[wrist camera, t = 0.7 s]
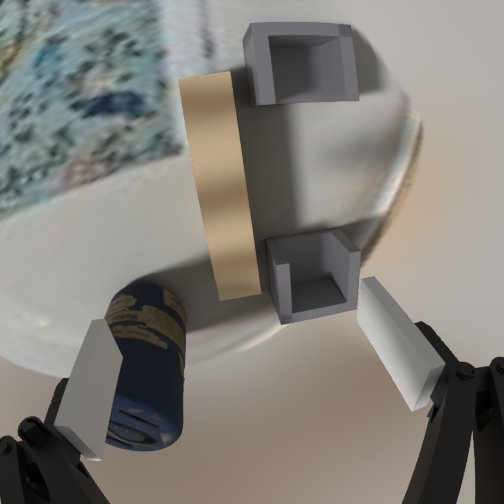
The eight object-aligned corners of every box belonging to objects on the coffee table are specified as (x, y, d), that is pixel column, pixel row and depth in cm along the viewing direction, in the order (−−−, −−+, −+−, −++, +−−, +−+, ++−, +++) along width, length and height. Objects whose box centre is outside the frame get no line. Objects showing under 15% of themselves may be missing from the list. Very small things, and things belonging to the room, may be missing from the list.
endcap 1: (242, 39, 24) (250, 23, 19) (325, 38, 25) (350, 25, 20) (250, 106, 27) (260, 105, 22) (332, 101, 28) (359, 101, 23)
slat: (184, 86, 26) (178, 79, 21) (226, 79, 26) (230, 71, 21) (217, 270, 35) (219, 301, 29) (252, 264, 35) (261, 293, 30)
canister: (151, 262, 33) (115, 391, 17) (203, 318, 37) (208, 449, 21) (96, 304, 34) (49, 423, 18) (148, 351, 38) (132, 471, 22)
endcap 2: (337, 281, 37) (356, 309, 32) (270, 293, 37) (280, 324, 31) (338, 228, 34) (361, 250, 29) (265, 239, 34) (276, 265, 28)
